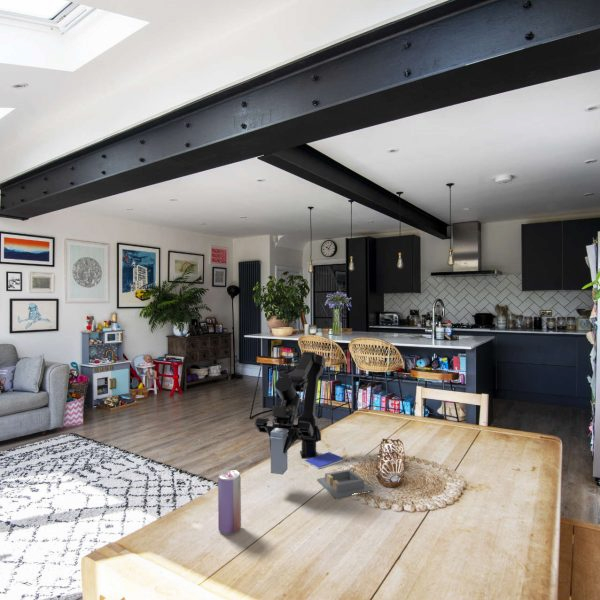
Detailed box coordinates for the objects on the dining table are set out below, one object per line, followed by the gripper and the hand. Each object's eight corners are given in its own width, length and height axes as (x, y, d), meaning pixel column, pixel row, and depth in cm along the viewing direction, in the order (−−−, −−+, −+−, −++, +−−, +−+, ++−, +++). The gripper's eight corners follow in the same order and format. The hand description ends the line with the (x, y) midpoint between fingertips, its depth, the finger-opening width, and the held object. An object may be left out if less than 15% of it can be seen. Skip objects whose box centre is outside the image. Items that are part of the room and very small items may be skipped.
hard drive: (328, 451, 170) (304, 459, 162) (343, 457, 164) (318, 466, 156) (328, 455, 170) (304, 463, 162) (343, 462, 164) (318, 470, 156)
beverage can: (222, 538, 112) (221, 481, 112) (215, 527, 118) (215, 472, 117) (244, 532, 115) (243, 476, 115) (236, 521, 121) (236, 468, 120)
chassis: (317, 480, 146) (317, 471, 146) (351, 474, 151) (351, 465, 151) (336, 499, 133) (336, 489, 133) (372, 491, 138) (372, 482, 138)
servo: (277, 466, 141) (276, 424, 141) (288, 467, 140) (288, 425, 140) (269, 474, 135) (269, 430, 135) (281, 476, 134) (281, 431, 134)
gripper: (256, 393, 144) (242, 437, 133) (310, 397, 138) (300, 443, 128) (265, 410, 151) (253, 453, 141) (317, 414, 146) (308, 459, 136)
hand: (277, 452), depth 136 cm, fingers closed on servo, 4 cm apart
